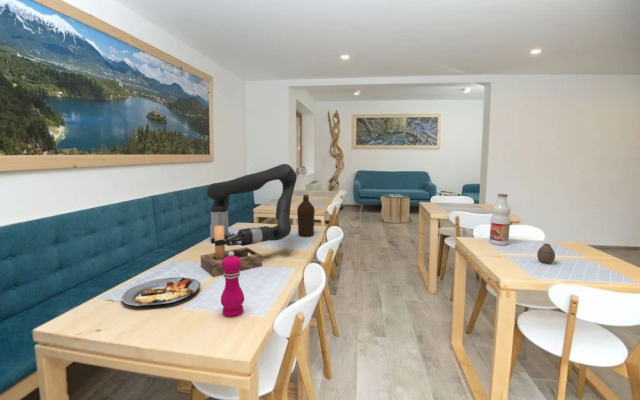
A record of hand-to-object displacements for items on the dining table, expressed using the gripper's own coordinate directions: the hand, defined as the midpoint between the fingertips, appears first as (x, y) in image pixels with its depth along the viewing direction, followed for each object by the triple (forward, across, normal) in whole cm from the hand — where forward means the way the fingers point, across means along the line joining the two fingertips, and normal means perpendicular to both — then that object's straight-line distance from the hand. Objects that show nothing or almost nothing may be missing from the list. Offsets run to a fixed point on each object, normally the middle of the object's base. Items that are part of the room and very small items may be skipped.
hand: (213, 242), depth 144 cm
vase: (-127, +82, +13) cm, 152 cm away
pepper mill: (+9, +42, +12) cm, 45 cm away
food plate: (+24, +14, +13) cm, 30 cm away
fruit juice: (-143, +53, +13) cm, 154 cm away
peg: (-3, 0, +12) cm, 12 cm away
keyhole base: (-8, 0, +12) cm, 14 cm away
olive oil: (-67, -27, +13) cm, 74 cm away
